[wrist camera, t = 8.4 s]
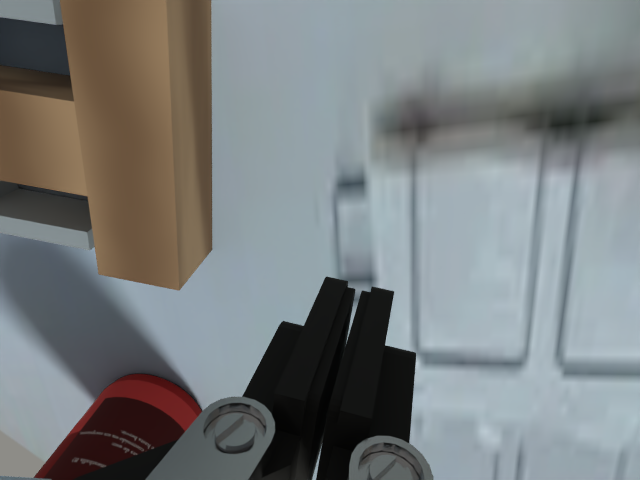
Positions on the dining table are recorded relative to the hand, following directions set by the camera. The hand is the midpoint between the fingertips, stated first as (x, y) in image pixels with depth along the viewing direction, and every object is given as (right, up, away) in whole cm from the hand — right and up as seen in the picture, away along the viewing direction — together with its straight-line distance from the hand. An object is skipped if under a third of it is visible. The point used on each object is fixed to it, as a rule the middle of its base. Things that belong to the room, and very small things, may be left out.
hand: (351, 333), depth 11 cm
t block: (-12, +8, +11) cm, 18 cm away
